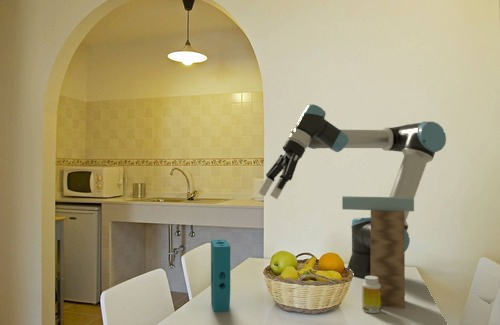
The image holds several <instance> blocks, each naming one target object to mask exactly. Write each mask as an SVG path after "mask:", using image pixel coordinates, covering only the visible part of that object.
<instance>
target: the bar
mask: <svg viewBox="0 0 500 325" xmlns="http://www.w3.org/2000/svg"><path fill="white" fill-rule="evenodd" d="M341 197H342V202H341V203H342V204H341V205H342V210H349V211H350V210H355V211H357V210H358V211H371V210H382V211H409V212H415V197H414V198H400V197H389V196H353V195H352V196H350V195H349V196H344V195H343V196H341Z"/></svg>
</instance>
